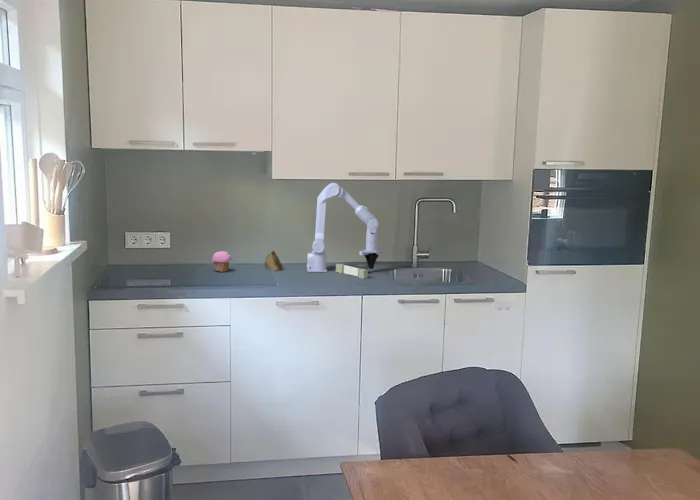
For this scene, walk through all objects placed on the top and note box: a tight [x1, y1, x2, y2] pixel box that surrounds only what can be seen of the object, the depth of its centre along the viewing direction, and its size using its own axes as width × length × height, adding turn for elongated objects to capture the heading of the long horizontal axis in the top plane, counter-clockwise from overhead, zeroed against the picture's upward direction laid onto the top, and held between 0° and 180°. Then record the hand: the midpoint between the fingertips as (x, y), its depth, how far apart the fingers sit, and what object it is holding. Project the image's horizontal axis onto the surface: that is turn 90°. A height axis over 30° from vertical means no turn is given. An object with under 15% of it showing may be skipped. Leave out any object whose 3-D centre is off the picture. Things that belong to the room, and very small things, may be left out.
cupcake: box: [211, 250, 232, 273], centre depth 315 cm, size 9×9×10 cm
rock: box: [264, 250, 285, 272], centre depth 326 cm, size 11×9×10 cm
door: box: [343, 264, 361, 277], centre depth 315 cm, size 1×11×4 cm, turn 42°
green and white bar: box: [335, 263, 369, 279], centre depth 315 cm, size 2×20×4 cm, turn 42°
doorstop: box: [353, 263, 369, 271], centre depth 320 cm, size 5×5×4 cm
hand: (370, 268), depth 325 cm, fingers closed
